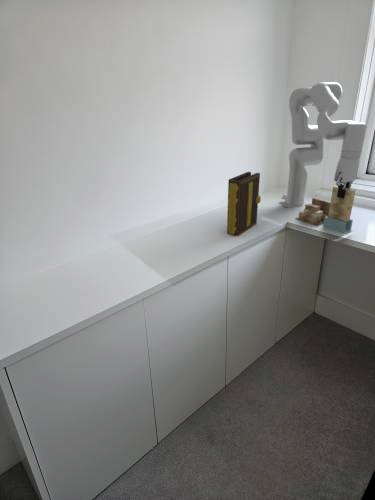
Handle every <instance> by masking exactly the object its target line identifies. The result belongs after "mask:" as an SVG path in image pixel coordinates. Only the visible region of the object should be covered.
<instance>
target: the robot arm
mask: <svg viewBox="0 0 375 500" xmlns="http://www.w3.org/2000/svg"><path fill="white" fill-rule="evenodd" d="M342 95H343V88H342V86H341V84H340V83H338V82H336V81H333V82H331V81H330V82H329V81H328V82H317V83H315V84H313V85H312V86H311V87H309V86H308V87H299V88H296V89H294V90H293V91H292V92H291V94H290V95H289V101H288V103H289V104H288V106H289V112H290V118H291V140H292V141H291V142H292V143H293V144H294V145H296V146H304V145H305V147H296V148H294V149H292V150H291V151H290V152H289V156H288V163H289V172H288V181H287V183H288V184H287V190H286V191H287V192H286V195H285V194H283V195H282V197H281V200H284V201H283V203H282V205H283V207H285V208H292V207H293V208H300V207H305V205H306V204H307V203H306V202H305V198H306V197H305V196H306V189H307V188H306V187H307V182H308V171H307V170H306V168H305V167H306V166H317V165H320V164H321V163H322V161H323V159H324V139H325V140H327V141H335V140H336V141H338V140H342V143H341V144H342V145H341V150H340V156H339V157H340V158H339V159H338V162H337V165H336V169H335V174H334V179H333V180H334V182H335V186H338V193H337V197H338V198H344V196H345V191H346V189H345V188H350V189H352V188H351V187H352V184H353V182H354V181H356V178H357V177H358V171H359V165H360V164H359V163H360V159H361V155H362V150H363V144H364V139H365V136H366V135H365V134H366V130H367V124H366V123H364V122H357V121H354V120H331V119H330V118H331V116H333V115H334V114H336V112H337V111H338V109H339V106H340V103H339V100H340V99H341V97H342ZM305 107H315V108H316V110H317V112H318V115H317V119H316V125H313V124H311V125H310V116H309V113H308V111H307V109H305ZM306 145H310V146H307V147H306Z"/></svg>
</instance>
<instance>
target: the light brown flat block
mask: <svg viewBox="0 0 375 500" xmlns="http://www.w3.org/2000/svg"><path fill="white" fill-rule="evenodd" d="M345 189H346V191H345V196H344V198H338V197H337V193H338V186H337V185H334V186H333V187H332V193H331V197H330V198H331V199H330V202H331V203H330V209H329V214H328V216H329V217H332V218H335V219H339V220H342V221H346V222H347V221H350V219H351V216H352V215H351V214H352V212H353V211H352V210H353V205H354V200H355V196H356V189H353V188H345Z"/></svg>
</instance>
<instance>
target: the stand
mask: <svg viewBox="0 0 375 500" xmlns="http://www.w3.org/2000/svg"><path fill="white" fill-rule="evenodd" d="M353 222H354V219H352V218H350V221H347V222H346V221H342V220H339V219H335V218H332V217H331V218H330V217H327V216H326V217H325V218H324V224H322V227H324V228H326V229H329V230H332V231H335V232H338V233H341V234H345V232H346V230H347V231H351V230H352V226H353Z"/></svg>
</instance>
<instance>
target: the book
mask: <svg viewBox="0 0 375 500" xmlns="http://www.w3.org/2000/svg"><path fill="white" fill-rule="evenodd" d="M260 177H261V173H260V172H255V173H253V174H252V172H251V171H246V172H245V173H242V174H239V175H237V176H234V177H232V178H230V179H228V184H227V185H228V187H227V191H228V192H227V219H226V220H227V221H226V222H227V223H226V234H227V235H229V236H233V237H239V236H241V235H243V234H244V233H246V232H247V231H248V230H249V229H251V228H253V227H254V226H256V225H257V219H258V206H259V205H258V204H260V203H261V200H262V199H261V196H260V194H259V192H260V179H261V178H260Z"/></svg>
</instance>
